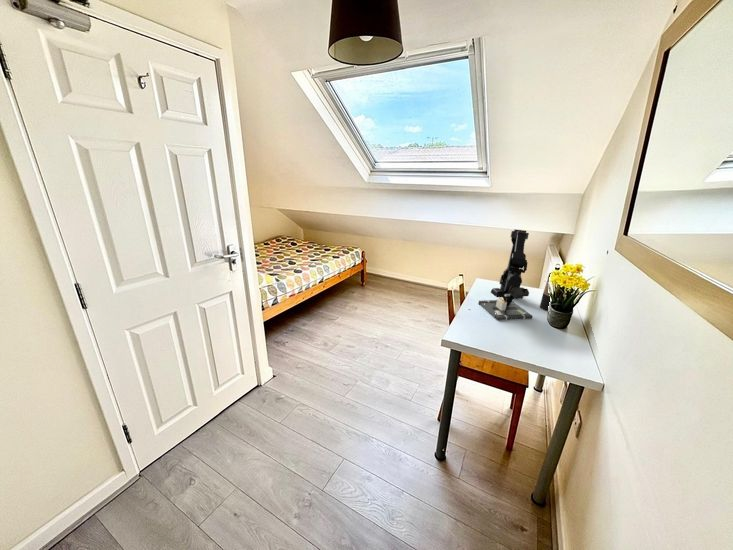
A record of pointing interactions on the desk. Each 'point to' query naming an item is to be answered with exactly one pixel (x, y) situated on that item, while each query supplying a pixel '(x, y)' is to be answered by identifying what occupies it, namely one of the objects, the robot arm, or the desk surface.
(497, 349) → the desk surface
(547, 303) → the travel mug
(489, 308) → the breaker panel
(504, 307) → the lever
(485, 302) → the cord bundle inner
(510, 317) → the cord bundle outer
